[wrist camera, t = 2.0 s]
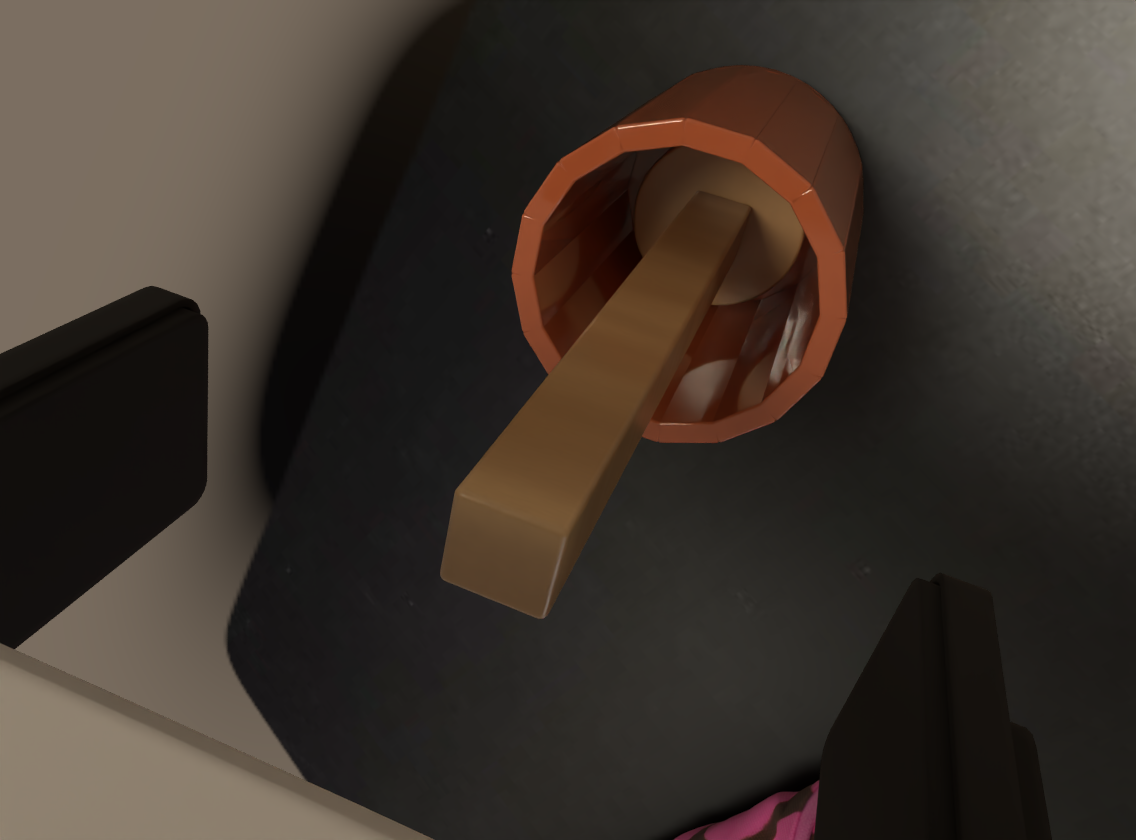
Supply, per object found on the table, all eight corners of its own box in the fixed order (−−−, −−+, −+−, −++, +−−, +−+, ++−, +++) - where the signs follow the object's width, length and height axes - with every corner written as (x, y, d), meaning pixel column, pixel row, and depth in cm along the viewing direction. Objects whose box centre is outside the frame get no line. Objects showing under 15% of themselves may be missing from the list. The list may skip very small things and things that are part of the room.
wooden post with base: (679, 97, 23) (351, 338, 10) (838, 144, 23) (732, 476, 9) (638, 248, 26) (324, 620, 12) (782, 296, 25) (627, 748, 11)
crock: (651, 34, 23) (547, 76, 17) (905, 106, 22) (904, 182, 16) (593, 269, 27) (489, 382, 20) (811, 341, 26) (777, 487, 19)
